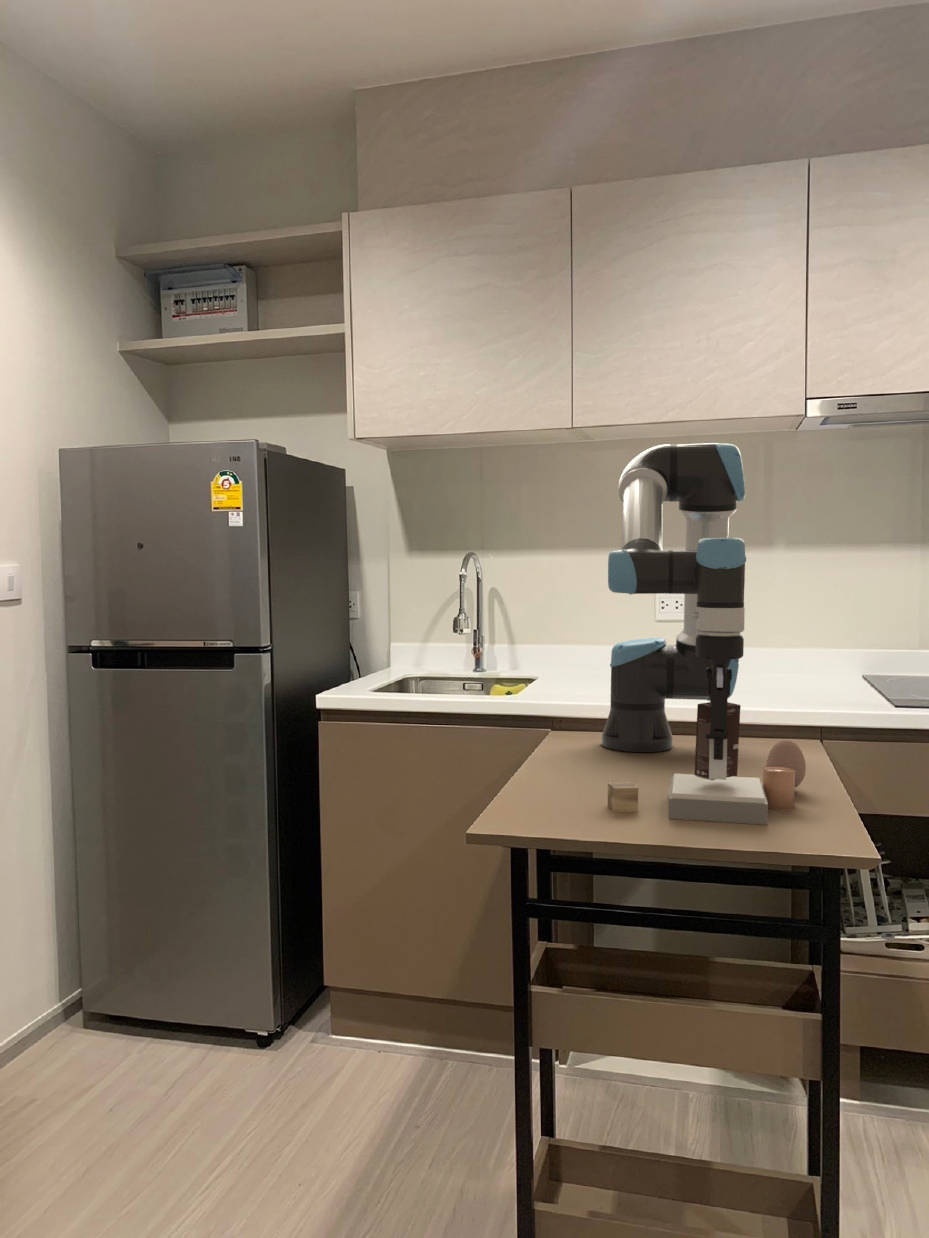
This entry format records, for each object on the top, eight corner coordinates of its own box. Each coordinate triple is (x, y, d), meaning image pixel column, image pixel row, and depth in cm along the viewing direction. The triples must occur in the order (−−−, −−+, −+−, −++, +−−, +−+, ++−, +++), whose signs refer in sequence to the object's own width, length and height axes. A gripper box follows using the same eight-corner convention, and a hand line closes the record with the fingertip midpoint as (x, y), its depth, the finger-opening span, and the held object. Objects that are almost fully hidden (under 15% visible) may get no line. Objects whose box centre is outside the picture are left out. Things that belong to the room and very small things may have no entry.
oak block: (607, 806, 160) (607, 782, 160) (631, 805, 161) (631, 781, 160) (613, 812, 156) (614, 788, 156) (637, 811, 157) (638, 787, 156)
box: (714, 781, 154) (716, 707, 153) (693, 776, 158) (694, 703, 157) (740, 776, 157) (741, 703, 157) (719, 771, 161) (720, 700, 160)
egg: (764, 793, 169) (765, 741, 168) (767, 784, 175) (768, 734, 174) (804, 796, 166) (805, 744, 166) (805, 787, 172) (807, 737, 172)
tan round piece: (761, 801, 163) (762, 766, 163) (792, 802, 162) (793, 767, 162) (763, 808, 159) (764, 772, 158) (795, 810, 157) (796, 774, 157)
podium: (671, 795, 167) (671, 772, 167) (761, 800, 163) (762, 777, 163) (668, 818, 152) (668, 793, 152) (767, 824, 149) (768, 799, 149)
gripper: (696, 628, 166) (694, 759, 168) (695, 638, 147) (693, 786, 149) (741, 629, 165) (738, 761, 166) (746, 639, 145) (743, 789, 147)
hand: (717, 773), depth 158 cm, fingers closed on box, 7 cm apart
